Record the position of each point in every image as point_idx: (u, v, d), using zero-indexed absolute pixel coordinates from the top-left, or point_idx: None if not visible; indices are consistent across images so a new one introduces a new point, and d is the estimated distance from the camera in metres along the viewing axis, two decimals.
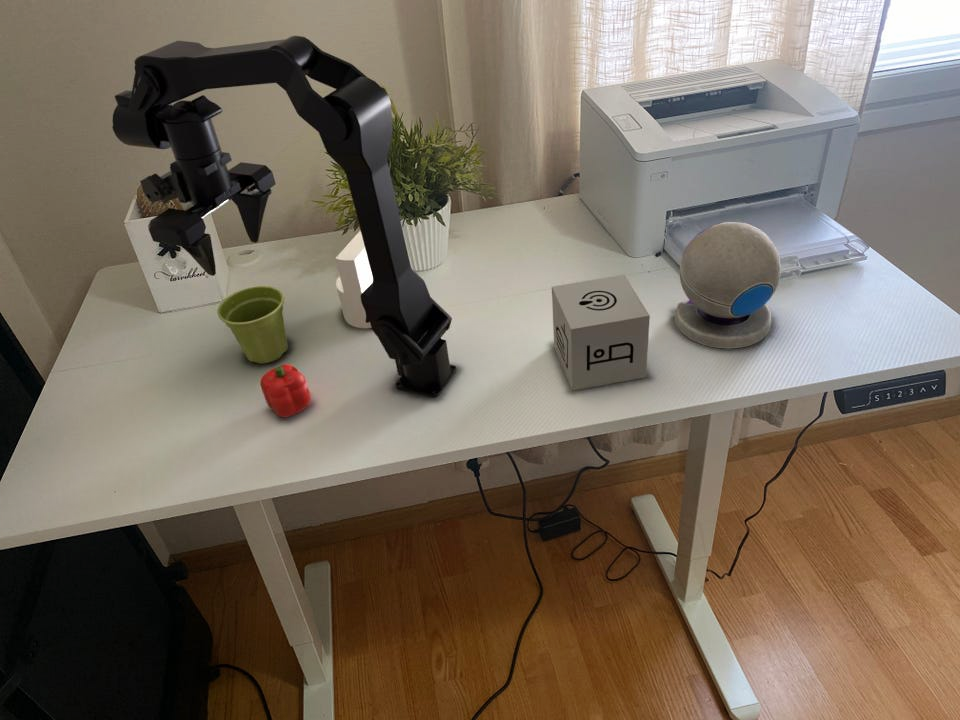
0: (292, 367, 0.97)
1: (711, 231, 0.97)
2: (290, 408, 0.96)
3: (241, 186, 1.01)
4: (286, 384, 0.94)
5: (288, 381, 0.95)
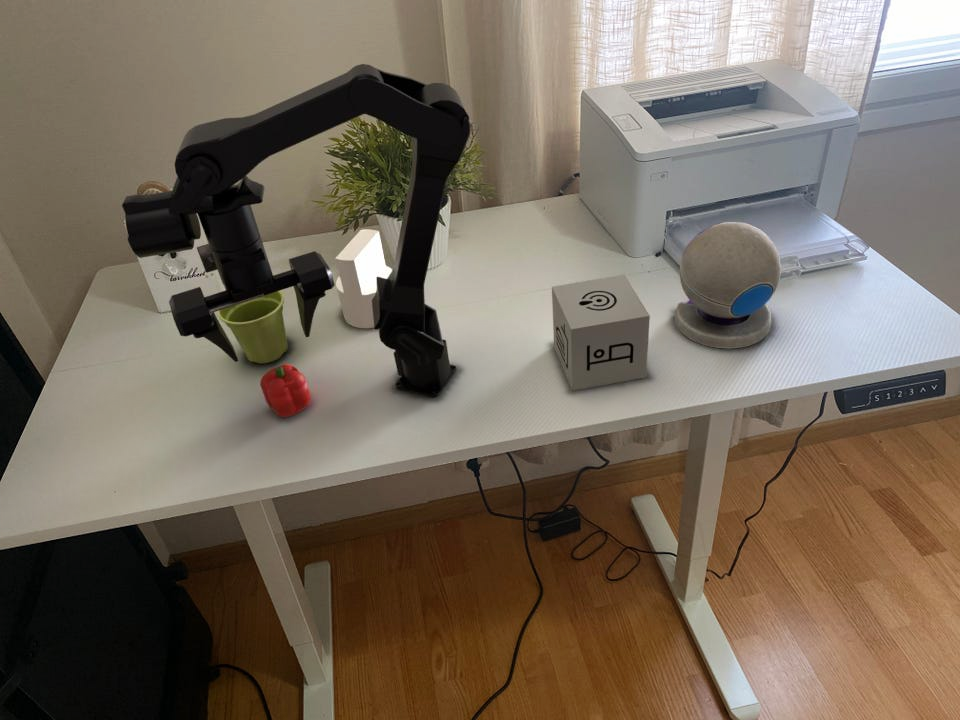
0: (292, 367, 0.97)
1: (711, 231, 0.97)
2: (290, 408, 0.96)
3: (293, 280, 0.89)
4: (286, 384, 0.94)
5: (288, 381, 0.95)
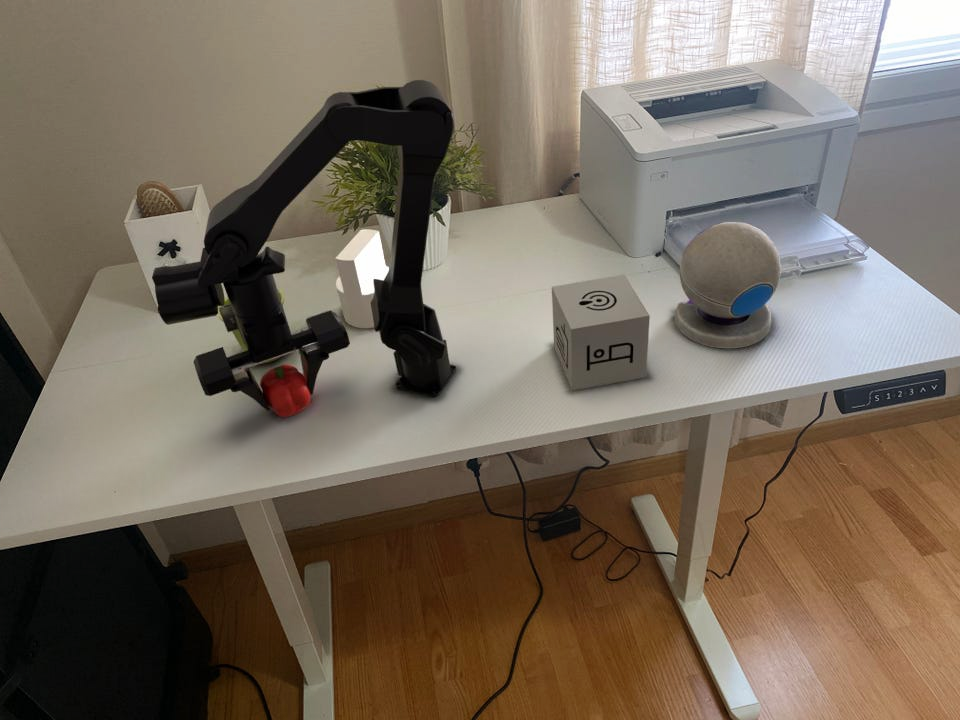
0: (292, 367, 0.97)
1: (711, 231, 0.97)
2: (290, 408, 0.96)
3: (310, 339, 0.94)
4: (286, 384, 0.94)
5: (288, 381, 0.95)
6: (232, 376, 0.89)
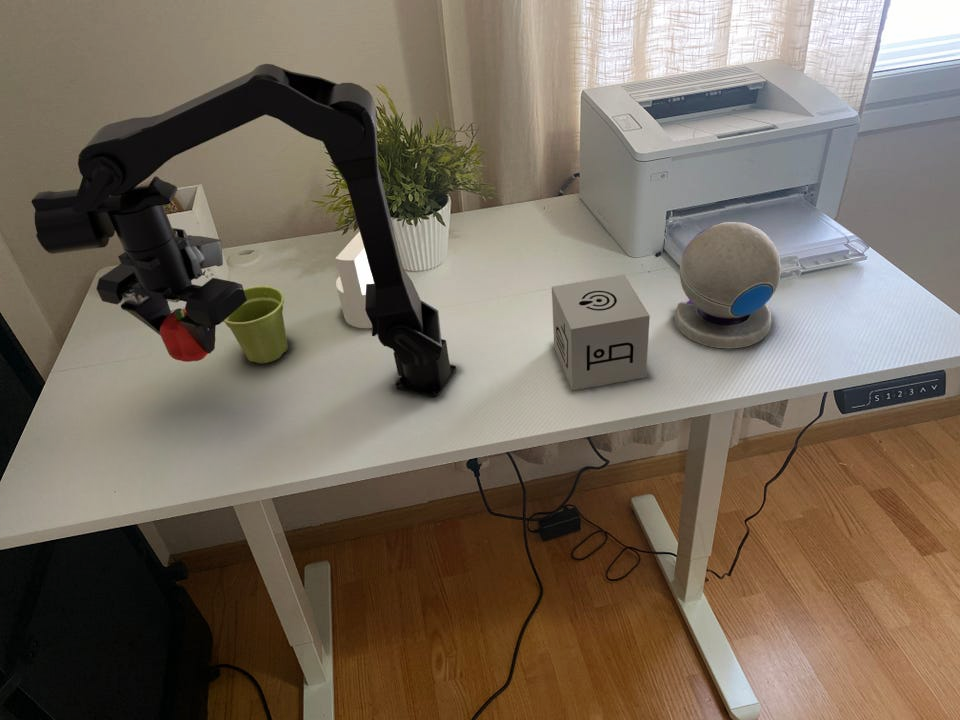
0: None
1: (711, 231, 0.97)
2: (173, 353, 0.92)
3: None
4: (170, 329, 0.90)
5: (175, 327, 0.90)
6: (115, 294, 0.88)
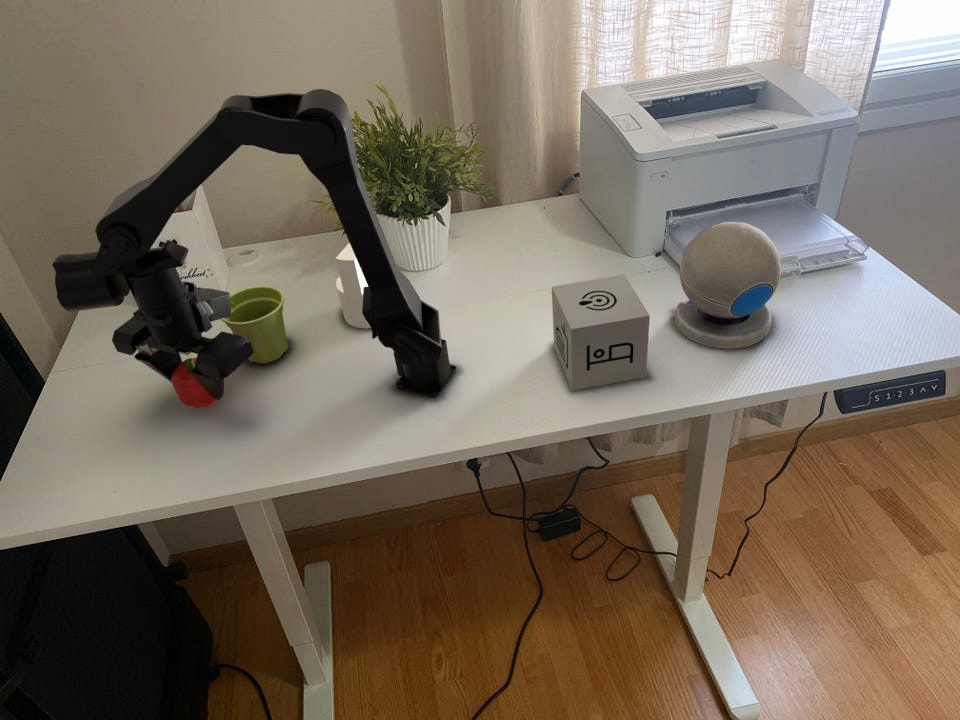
0: None
1: (711, 231, 0.97)
2: (184, 400, 0.97)
3: None
4: (181, 378, 0.95)
5: (186, 377, 0.95)
6: (130, 346, 0.93)
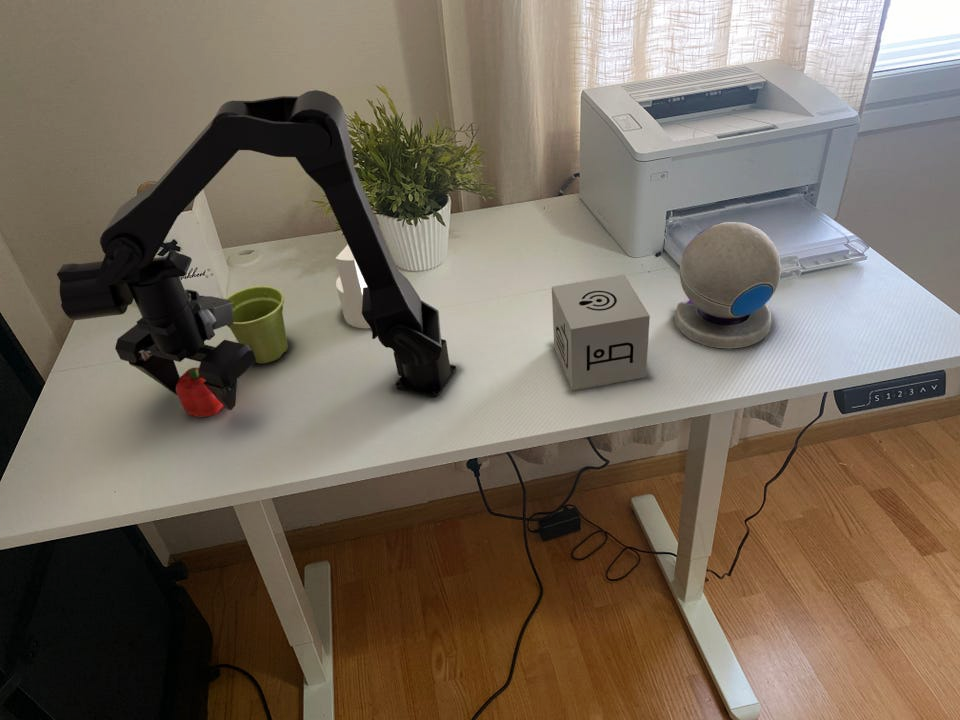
0: None
1: (711, 231, 0.97)
2: (188, 409, 0.98)
3: None
4: (186, 388, 0.96)
5: (190, 386, 0.96)
6: (133, 354, 0.94)
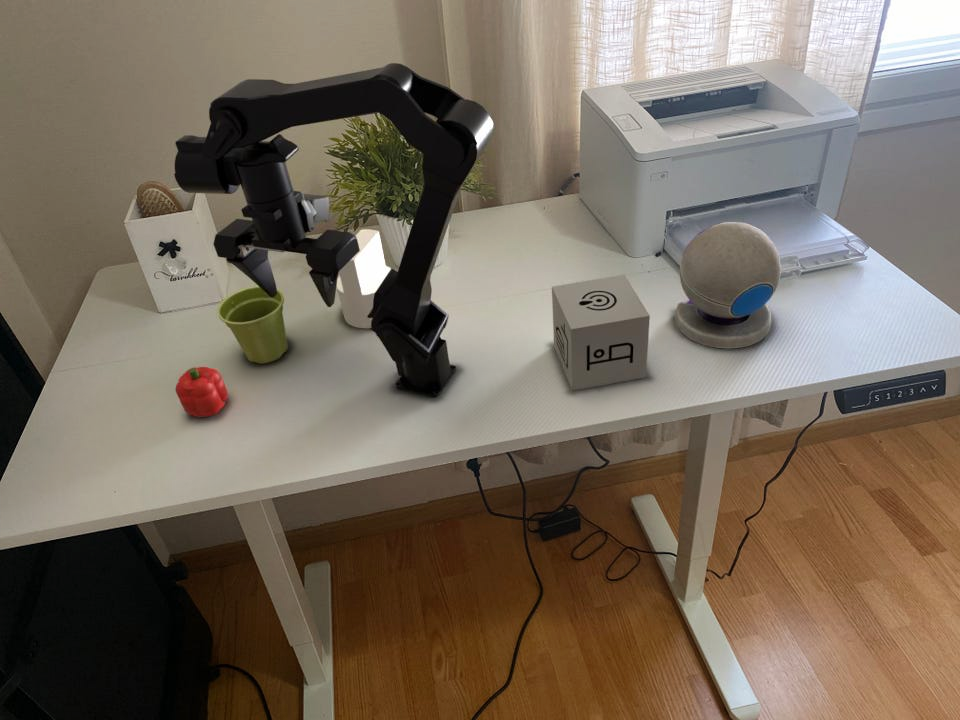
0: (211, 376, 0.97)
1: (711, 231, 0.97)
2: (188, 409, 0.98)
3: None
4: (186, 388, 0.96)
5: (190, 386, 0.96)
6: (233, 248, 0.92)
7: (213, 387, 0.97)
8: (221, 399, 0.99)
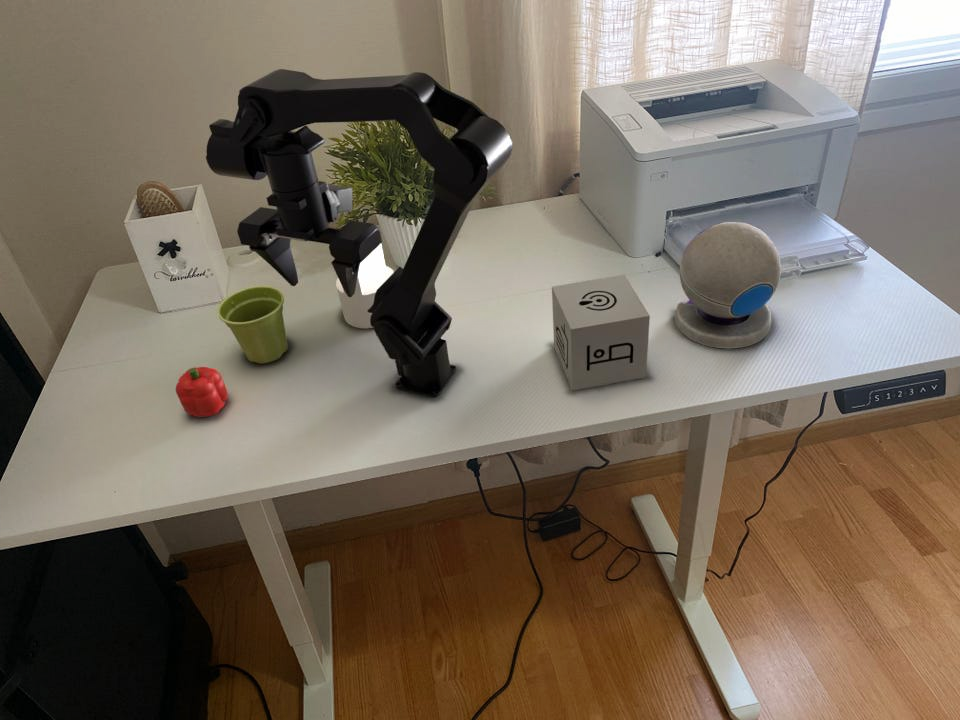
0: (211, 376, 0.97)
1: (711, 231, 0.97)
2: (188, 409, 0.98)
3: None
4: (186, 388, 0.96)
5: (190, 386, 0.96)
6: (257, 236, 0.93)
7: (213, 387, 0.97)
8: (221, 399, 0.99)
